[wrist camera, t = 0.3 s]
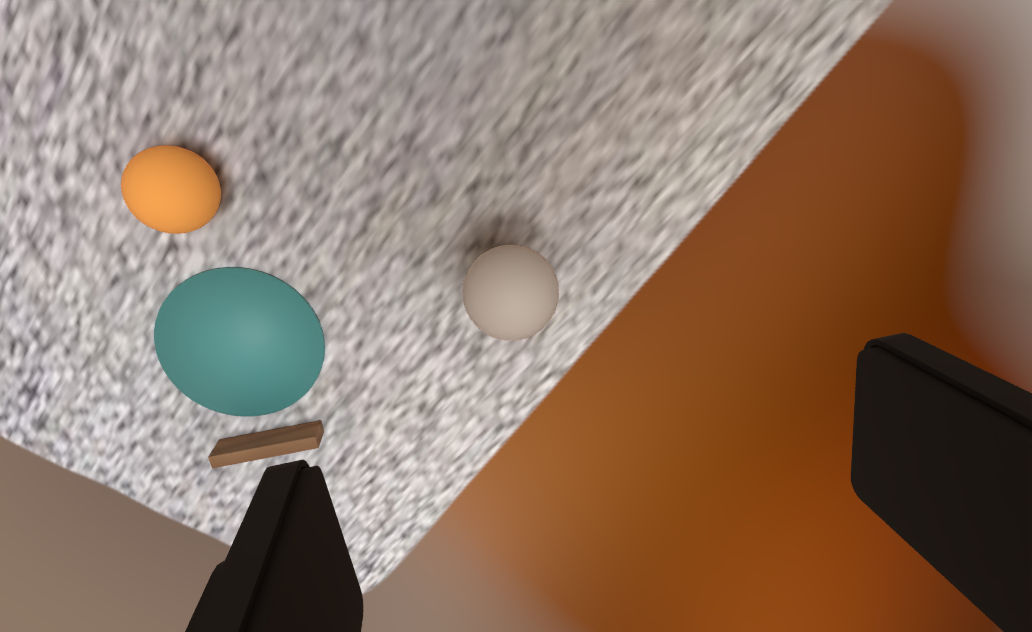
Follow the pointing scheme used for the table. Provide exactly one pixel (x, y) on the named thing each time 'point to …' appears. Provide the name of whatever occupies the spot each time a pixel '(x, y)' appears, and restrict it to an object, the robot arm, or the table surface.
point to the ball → (171, 189)
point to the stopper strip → (266, 444)
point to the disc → (239, 341)
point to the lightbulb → (510, 292)
